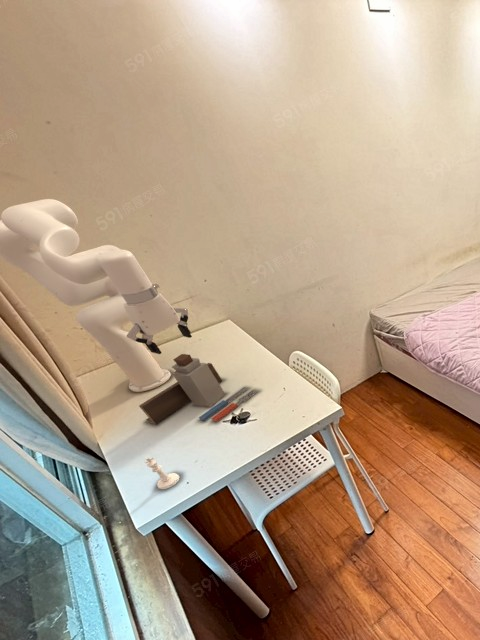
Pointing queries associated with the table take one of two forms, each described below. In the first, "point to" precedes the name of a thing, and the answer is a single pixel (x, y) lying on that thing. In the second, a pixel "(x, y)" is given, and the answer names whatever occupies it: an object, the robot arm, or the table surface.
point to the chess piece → (162, 475)
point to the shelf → (169, 401)
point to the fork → (232, 406)
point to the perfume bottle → (197, 381)
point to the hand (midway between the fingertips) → (173, 344)
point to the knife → (221, 405)
